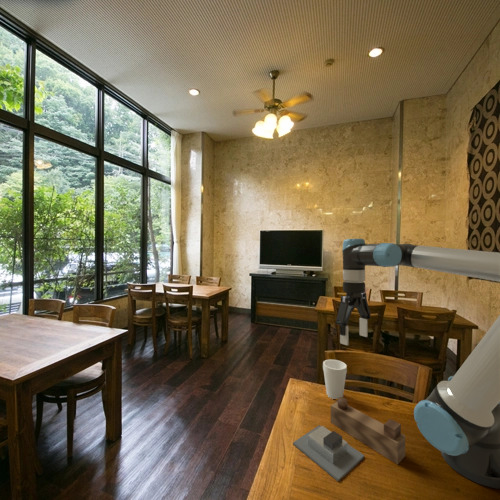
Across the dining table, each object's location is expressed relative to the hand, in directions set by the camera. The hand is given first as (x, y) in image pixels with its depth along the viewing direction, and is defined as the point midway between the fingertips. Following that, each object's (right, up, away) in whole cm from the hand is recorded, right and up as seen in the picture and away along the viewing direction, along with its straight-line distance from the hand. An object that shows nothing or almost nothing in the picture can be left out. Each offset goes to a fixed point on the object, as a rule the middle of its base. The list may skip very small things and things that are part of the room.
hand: (354, 339), depth 92 cm
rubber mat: (-15, -28, -15) cm, 35 cm away
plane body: (-1, -28, -10) cm, 30 cm away
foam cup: (-3, -28, +14) cm, 31 cm away
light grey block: (-15, -27, -15) cm, 35 cm away
